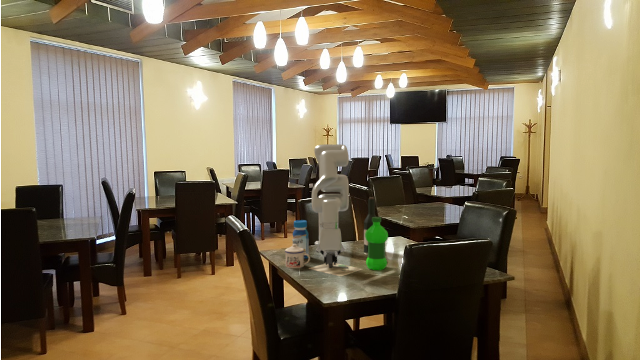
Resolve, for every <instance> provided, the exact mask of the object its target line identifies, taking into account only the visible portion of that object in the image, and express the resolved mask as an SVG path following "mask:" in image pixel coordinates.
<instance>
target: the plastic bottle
mask: <svg viewBox="0 0 640 360" xmlns="http://www.w3.org/2000/svg"><path fill="white" fill-rule="evenodd" d="M372 222H373V225H372V226H371V227H370V228H369V229H368V230H367V231H366V233H365V238H366V240H367V241H368V253H367V258H366V260H365V264H366V267H367V268H368V269H369V270H373V271H382V270H385V268H386V267H387V266H388V260H387V258H386V242H387V241H388V239H389V234H388V230H386V229H385V227H384V226H382V225H381V222H382V217H381V216H376V217H372Z"/></svg>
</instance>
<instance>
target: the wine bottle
mask: <svg viewBox="0 0 640 360" xmlns="http://www.w3.org/2000/svg"><path fill="white" fill-rule="evenodd" d="M367 201H368V202H367V203H368V205H367V207H368V208H367V209H368V212H367V216H366V218H364V221H363V252H364V253H367V254H368V241H367V240H366V238H365V233H366V231H367V230H368V229H369V228H370V227H371V226H372V225H373V222H372V217H377V215H376V213H375V209H376V208H375V206H376V205H375V204H376V203H375V198H374V197H373V196H372V197H371V196H369V198H368V199H367Z"/></svg>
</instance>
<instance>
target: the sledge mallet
mask: <svg viewBox="0 0 640 360" xmlns="http://www.w3.org/2000/svg"><path fill="white" fill-rule="evenodd" d="M326 254H327V264H329V268H333V267H336V268H349V267H340V266H333V262H334V254H335V252H332V251H329V252H328V253H326Z"/></svg>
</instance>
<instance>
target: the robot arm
mask: <svg viewBox="0 0 640 360" xmlns="http://www.w3.org/2000/svg"><path fill="white" fill-rule="evenodd" d="M313 151H314V157H315V160H316V162H317V164H318V170H319V174H318V177H319V179H318V180H317V181H316V183H314V185H313V187H312V190H311V209H312V211H313V212H314V213H316V214H318V240H316V241H315V242H314V245H315V246H317V247H316V248H315V250H316V251H317V252H319V253H320V254H321V255H322V256H323V264H325V263H326V265H327V253H328V252H329V251H332V252H335V254H334V265H336V263H338V256H339V255H340V254H341V253H342V252H344V251H346V248H345V247H344V245H343V242H342V233H341V228H340V227H339V212H345V211H347V210H348V209H349V207H350V206H349V205H350V203H349V202H350V198H349V191H350V190H349V188H350V187H349V185H350V184H349V178H348V176H347V175H345V174H338V167H342V168H343V167H345V168H346V167H347V166H348V164H349V161H350V160H349V150H348V147H347V146H346V145H345V144H342V143H341V144H328V143H327V144H318V145H316V146H314V150H313ZM319 191H321V192H325V193H322V194H320V195H318V193H319Z"/></svg>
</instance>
